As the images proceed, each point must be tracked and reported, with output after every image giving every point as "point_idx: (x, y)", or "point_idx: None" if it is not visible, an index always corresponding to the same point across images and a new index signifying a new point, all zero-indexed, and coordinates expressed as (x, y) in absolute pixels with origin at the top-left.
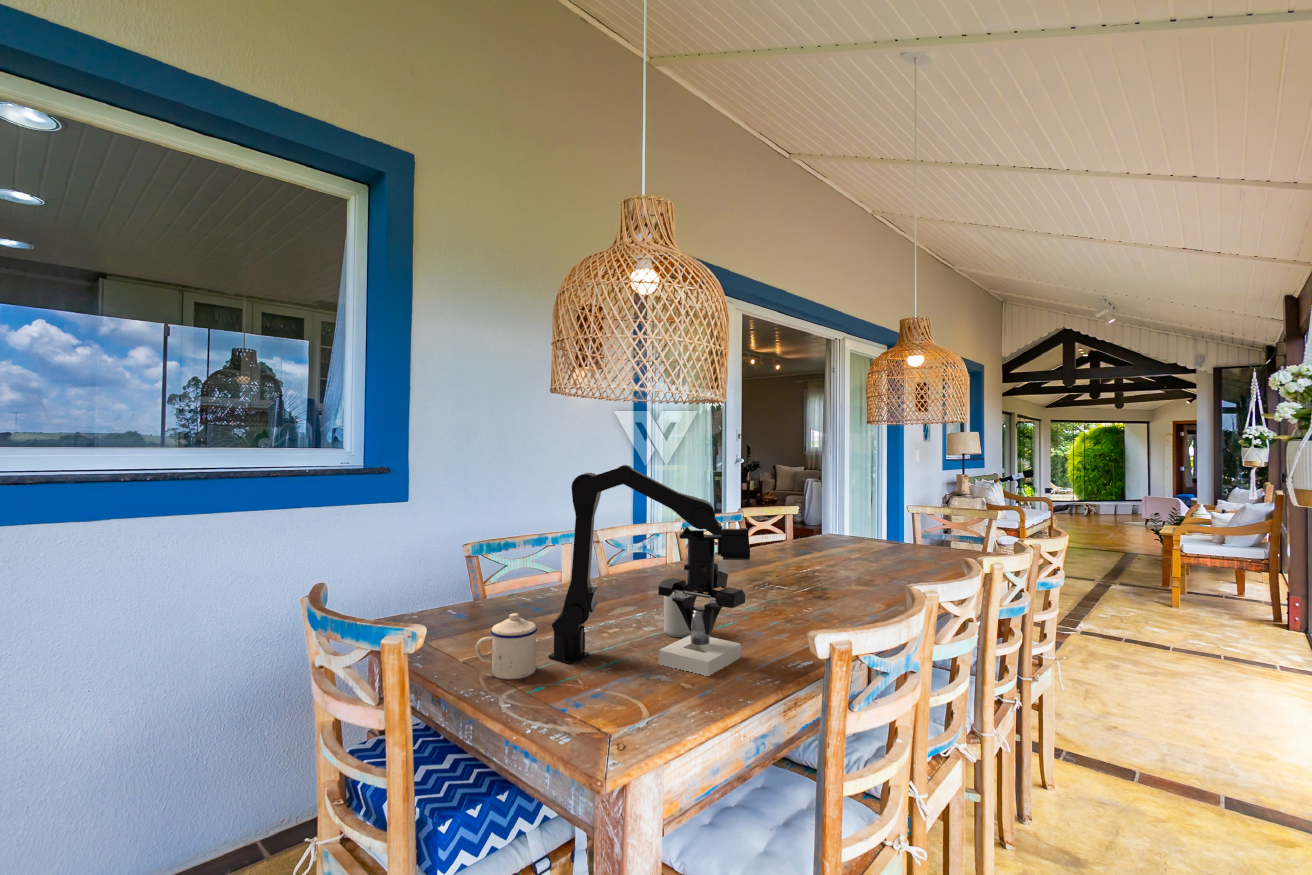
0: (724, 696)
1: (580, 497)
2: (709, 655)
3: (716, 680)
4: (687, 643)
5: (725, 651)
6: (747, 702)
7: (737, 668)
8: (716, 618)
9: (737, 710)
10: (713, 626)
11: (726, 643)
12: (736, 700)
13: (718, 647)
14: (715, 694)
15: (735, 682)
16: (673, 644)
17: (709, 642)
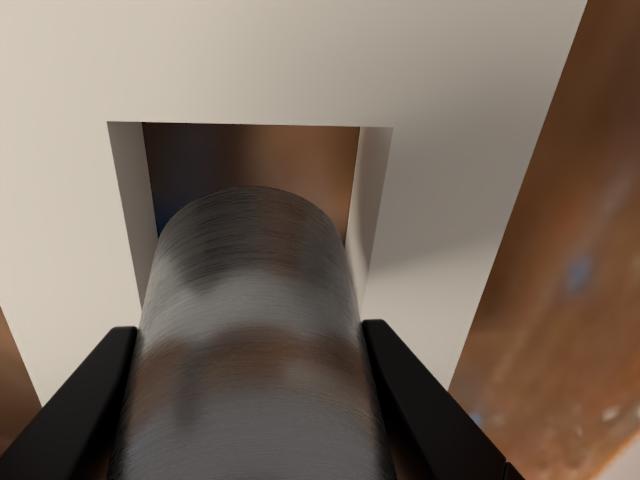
0: (544, 423)
1: None
2: (409, 334)
3: (471, 341)
4: (100, 232)
5: (499, 214)
6: (637, 416)
7: (552, 148)
8: (512, 467)
9: (604, 461)
10: (433, 379)
11: (449, 2)
12: (594, 423)
13: (411, 168)
14: (506, 427)
15: (569, 315)
16: (27, 310)
17: (339, 235)
